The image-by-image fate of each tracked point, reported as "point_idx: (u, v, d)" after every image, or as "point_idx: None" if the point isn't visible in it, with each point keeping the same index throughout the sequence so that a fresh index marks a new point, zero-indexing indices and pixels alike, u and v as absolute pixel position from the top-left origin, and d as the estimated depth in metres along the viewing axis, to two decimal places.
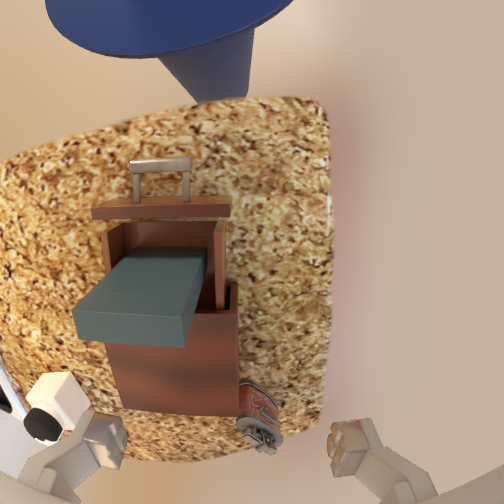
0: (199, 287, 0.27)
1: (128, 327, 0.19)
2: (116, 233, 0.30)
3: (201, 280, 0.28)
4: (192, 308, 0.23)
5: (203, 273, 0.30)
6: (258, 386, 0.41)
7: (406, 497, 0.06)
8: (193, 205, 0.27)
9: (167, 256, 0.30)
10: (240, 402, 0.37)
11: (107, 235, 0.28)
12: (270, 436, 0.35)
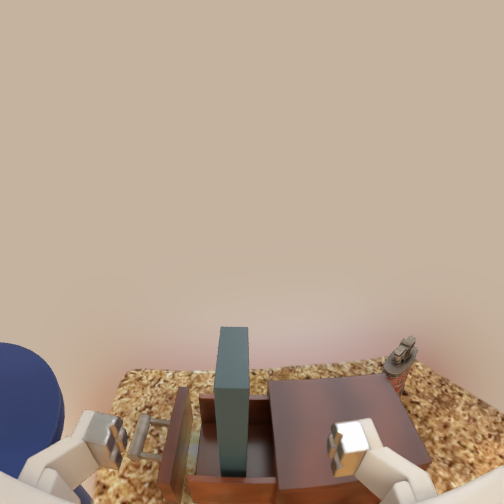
0: None
1: (230, 351, 0.23)
2: None
3: None
4: None
5: None
6: None
7: (406, 497, 0.06)
8: (174, 405, 0.29)
9: None
10: None
11: (191, 475, 0.21)
12: None
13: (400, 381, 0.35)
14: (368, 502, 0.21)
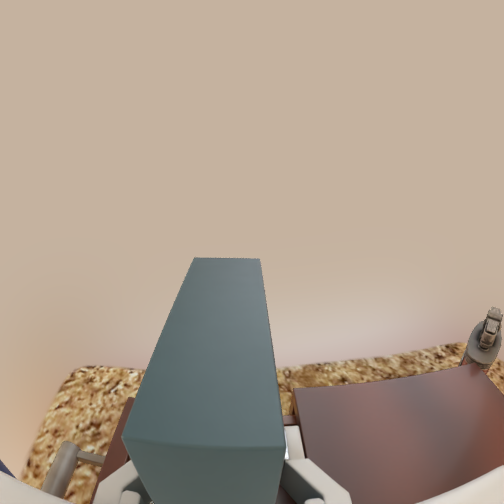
0: None
1: (210, 305, 0.08)
2: None
3: None
4: None
5: None
6: None
7: None
8: (115, 433, 0.14)
9: None
10: None
11: None
12: (481, 329, 0.22)
13: None
14: None
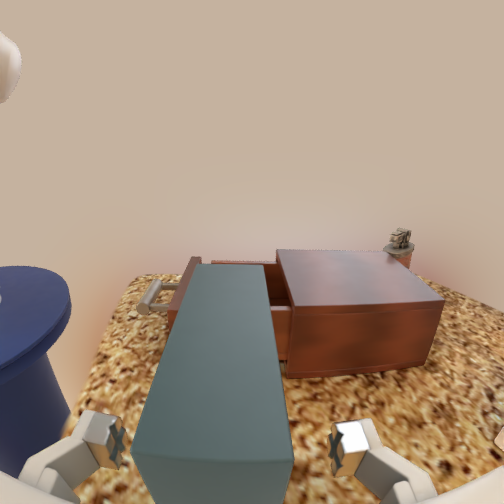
0: None
1: (215, 314, 0.08)
2: None
3: None
4: None
5: None
6: None
7: (406, 497, 0.06)
8: (188, 265, 0.34)
9: None
10: None
11: None
12: None
13: None
14: (388, 360, 0.26)
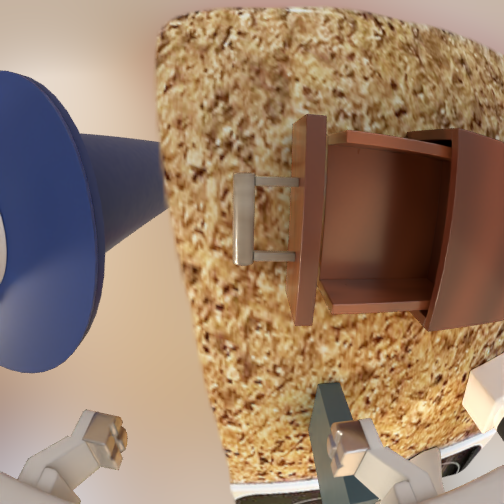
0: None
1: None
2: (334, 290, 0.22)
3: (344, 415, 0.25)
4: None
5: (340, 404, 0.27)
6: None
7: (406, 497, 0.06)
8: (307, 168, 0.17)
9: (318, 427, 0.28)
10: None
11: (337, 304, 0.20)
12: None
13: None
14: None
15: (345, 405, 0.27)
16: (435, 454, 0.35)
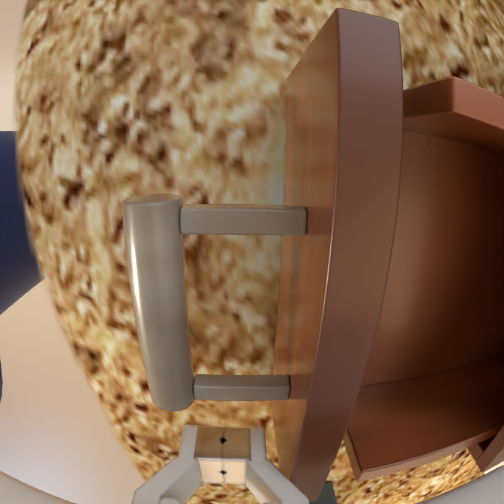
0: None
1: None
2: (362, 423, 0.10)
3: None
4: None
5: None
6: None
7: None
8: (342, 190, 0.05)
9: None
10: None
11: (369, 469, 0.08)
12: None
13: None
14: None
15: None
16: None
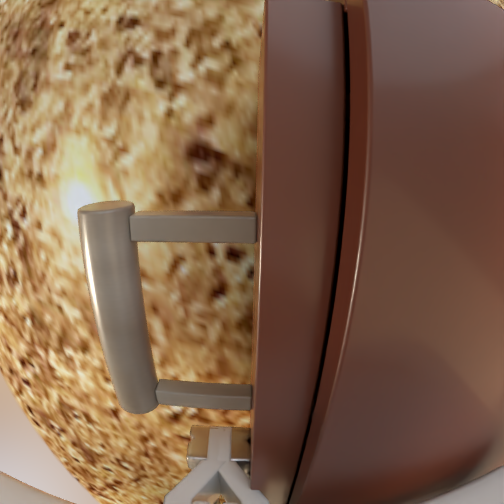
0: None
1: None
2: None
3: None
4: None
5: None
6: None
7: None
8: (269, 197, 0.04)
9: None
10: None
11: None
12: None
13: None
14: None
15: None
16: None
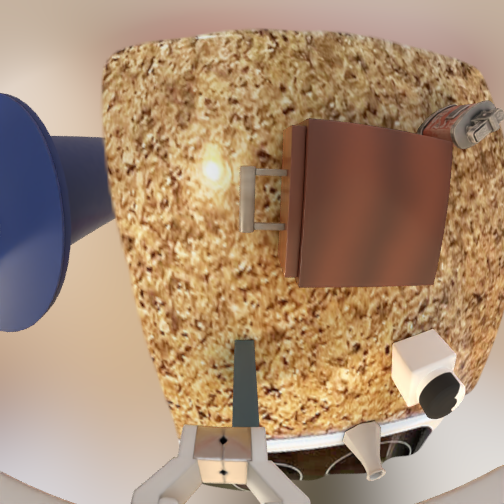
0: (250, 373, 0.32)
1: None
2: None
3: (249, 364, 0.33)
4: (249, 401, 0.28)
5: (248, 356, 0.35)
6: (426, 121, 0.29)
7: None
8: (292, 163, 0.25)
9: None
10: None
11: None
12: (481, 112, 0.22)
13: None
14: None
15: (252, 357, 0.34)
16: (372, 428, 0.43)
